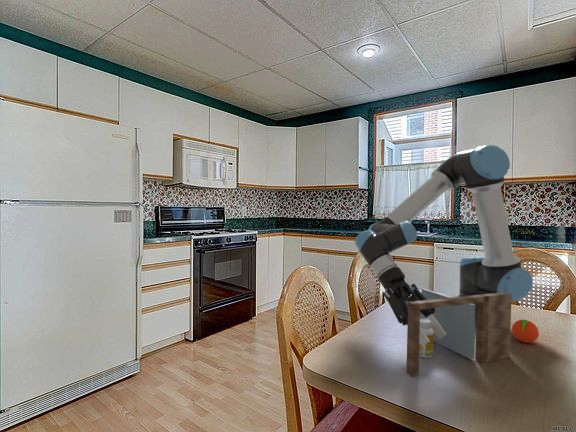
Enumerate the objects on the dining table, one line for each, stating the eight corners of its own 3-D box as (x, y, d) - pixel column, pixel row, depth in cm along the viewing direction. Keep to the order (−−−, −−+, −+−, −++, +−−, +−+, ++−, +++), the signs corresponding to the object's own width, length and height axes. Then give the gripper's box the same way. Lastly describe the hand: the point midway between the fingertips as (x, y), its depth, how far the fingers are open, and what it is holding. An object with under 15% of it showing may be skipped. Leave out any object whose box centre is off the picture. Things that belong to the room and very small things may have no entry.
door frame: (502, 354, 94) (504, 292, 93) (509, 357, 92) (511, 293, 91) (406, 373, 82) (408, 301, 81) (412, 376, 80) (413, 304, 80)
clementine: (536, 349, 97) (537, 326, 97) (509, 343, 102) (509, 320, 102) (539, 341, 103) (540, 319, 103) (513, 336, 108) (513, 314, 108)
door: (476, 358, 90) (478, 304, 89) (468, 360, 89) (469, 305, 88) (425, 333, 108) (426, 288, 107) (418, 334, 107) (419, 289, 106)
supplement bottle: (432, 351, 95) (433, 318, 94) (434, 359, 90) (434, 324, 89) (412, 348, 96) (413, 316, 96) (413, 356, 91) (413, 322, 91)
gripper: (400, 276, 111) (445, 338, 98) (358, 283, 99) (403, 355, 86) (415, 262, 107) (463, 326, 94) (372, 268, 95) (422, 342, 82)
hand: (434, 340), depth 90 cm, fingers open, 8 cm apart
